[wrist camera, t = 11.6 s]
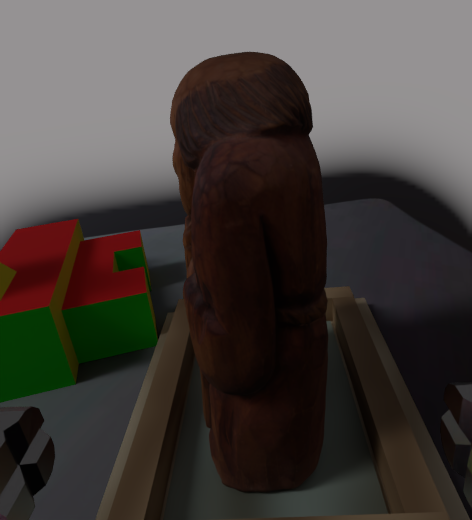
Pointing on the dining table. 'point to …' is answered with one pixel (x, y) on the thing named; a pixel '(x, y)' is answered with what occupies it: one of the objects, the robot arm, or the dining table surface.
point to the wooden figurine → (254, 266)
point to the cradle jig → (332, 454)
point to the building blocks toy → (69, 304)
